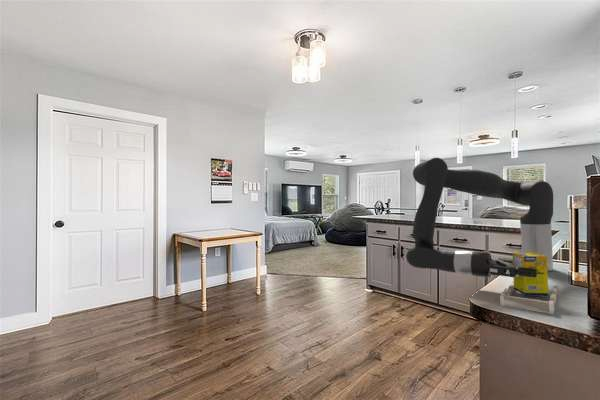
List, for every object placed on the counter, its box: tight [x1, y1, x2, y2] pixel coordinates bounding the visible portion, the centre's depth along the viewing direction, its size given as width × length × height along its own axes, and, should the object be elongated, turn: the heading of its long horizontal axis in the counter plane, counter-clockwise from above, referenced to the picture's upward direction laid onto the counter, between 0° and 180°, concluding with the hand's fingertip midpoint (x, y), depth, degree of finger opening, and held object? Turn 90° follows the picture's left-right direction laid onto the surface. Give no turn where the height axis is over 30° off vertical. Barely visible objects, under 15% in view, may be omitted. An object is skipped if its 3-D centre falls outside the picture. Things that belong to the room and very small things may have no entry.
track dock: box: [499, 280, 559, 315], centre depth 83 cm, size 22×11×2 cm, turn 137°
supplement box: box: [512, 251, 549, 297], centre depth 84 cm, size 6×6×11 cm
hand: (538, 270), depth 83 cm, fingers open, 8 cm apart
